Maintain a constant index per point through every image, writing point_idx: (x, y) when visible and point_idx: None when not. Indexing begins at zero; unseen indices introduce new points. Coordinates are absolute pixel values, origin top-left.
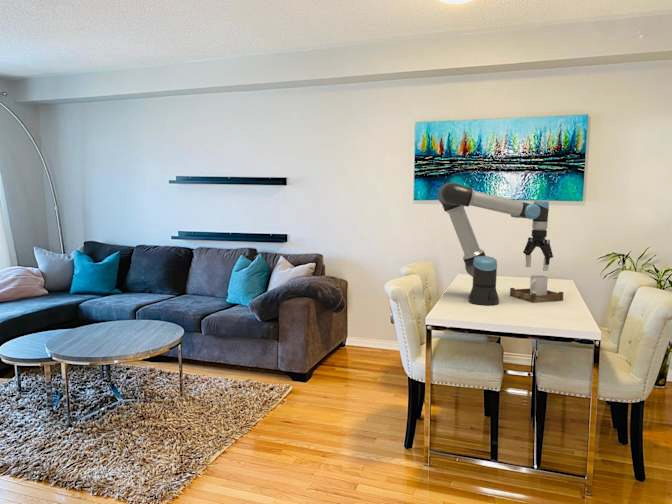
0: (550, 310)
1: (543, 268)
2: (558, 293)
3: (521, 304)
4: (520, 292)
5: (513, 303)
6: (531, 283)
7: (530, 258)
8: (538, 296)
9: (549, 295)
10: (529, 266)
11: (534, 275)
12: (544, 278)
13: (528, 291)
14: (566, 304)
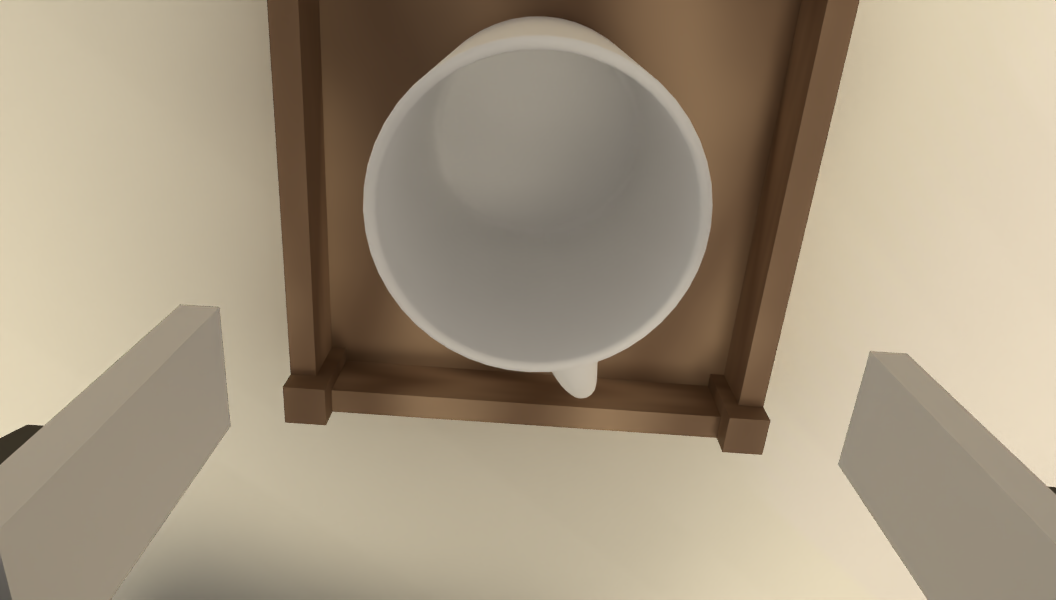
0: None
1: (875, 500)
2: None
3: (731, 547)
4: (502, 422)
5: (661, 578)
6: (588, 394)
7: (87, 476)
8: (767, 373)
9: (807, 204)
10: (216, 349)
11: (373, 195)
12: (705, 233)
13: (315, 117)
14: (1013, 104)
